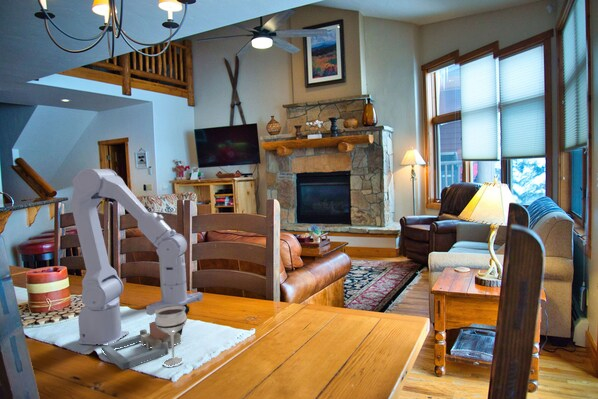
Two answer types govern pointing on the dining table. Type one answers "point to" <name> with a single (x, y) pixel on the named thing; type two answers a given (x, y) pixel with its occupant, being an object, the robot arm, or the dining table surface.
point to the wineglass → (171, 325)
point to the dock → (135, 360)
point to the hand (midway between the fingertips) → (177, 334)
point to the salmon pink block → (156, 331)
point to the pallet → (158, 340)
